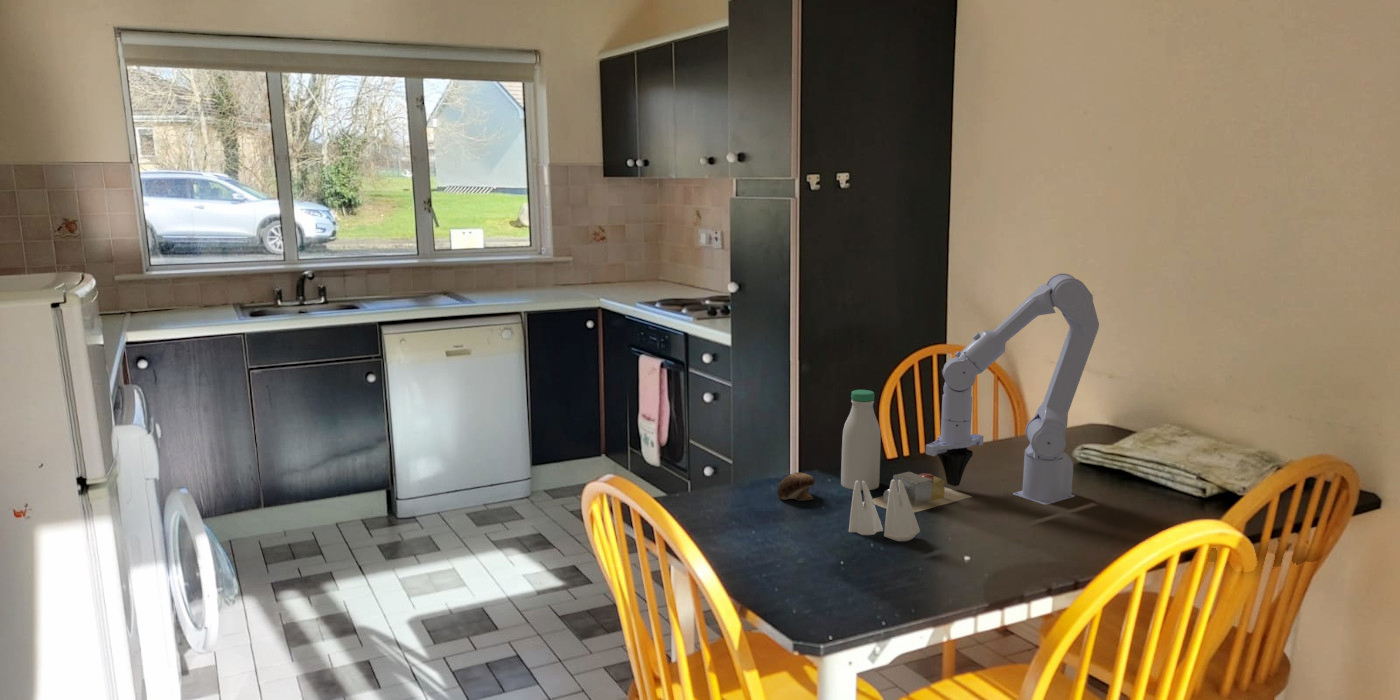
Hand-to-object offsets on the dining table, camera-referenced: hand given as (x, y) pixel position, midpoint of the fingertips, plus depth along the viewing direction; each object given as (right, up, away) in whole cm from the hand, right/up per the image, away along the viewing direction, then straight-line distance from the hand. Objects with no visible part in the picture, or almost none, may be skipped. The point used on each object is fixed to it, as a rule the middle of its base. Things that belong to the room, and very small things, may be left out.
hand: (953, 484), depth 196 cm
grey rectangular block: (-11, -2, -7) cm, 14 cm away
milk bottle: (-18, -1, +4) cm, 18 cm away
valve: (-7, -2, -5) cm, 9 cm away
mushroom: (-32, -3, -4) cm, 32 cm away
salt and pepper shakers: (-18, -6, -24) cm, 31 cm away
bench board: (-8, -3, -5) cm, 10 cm away
